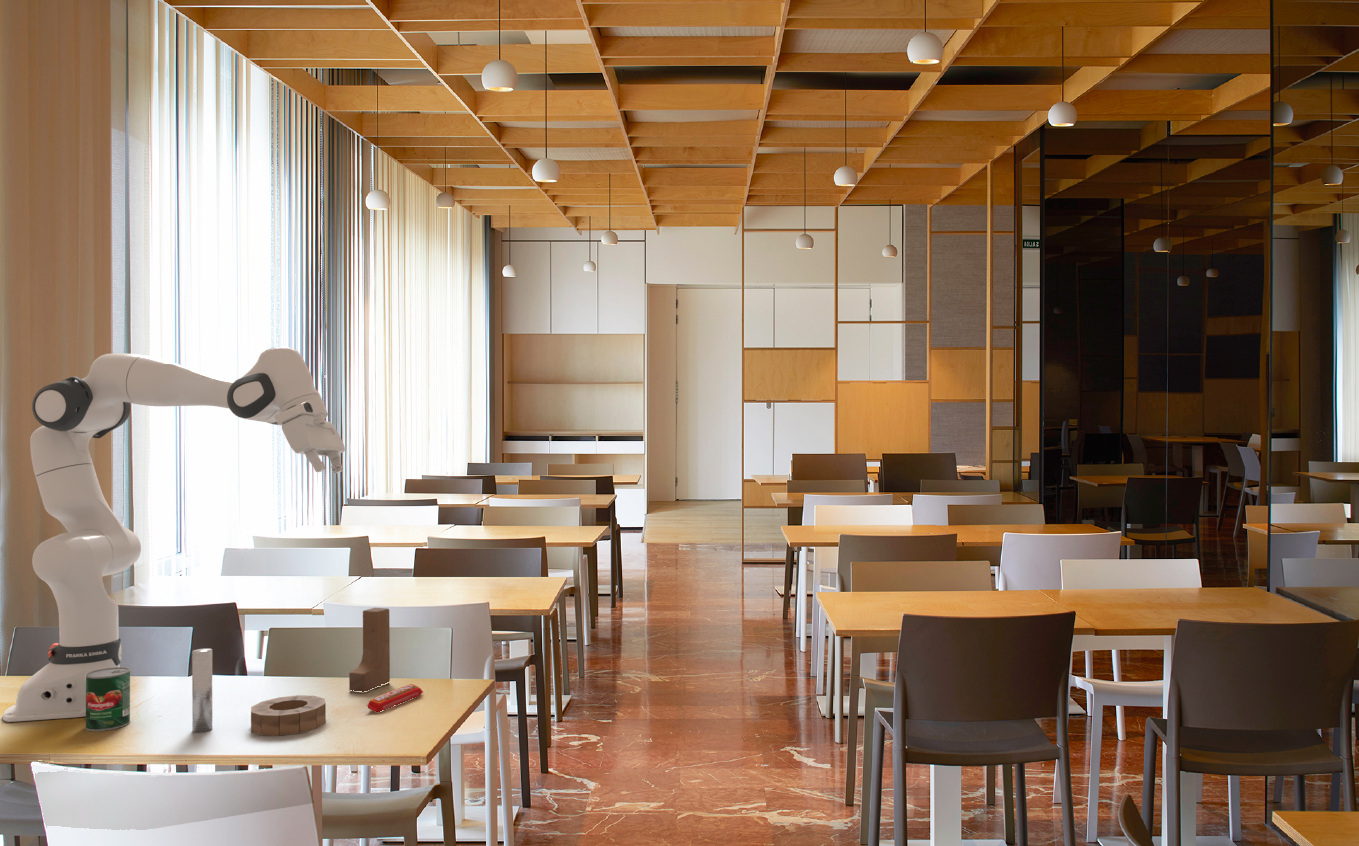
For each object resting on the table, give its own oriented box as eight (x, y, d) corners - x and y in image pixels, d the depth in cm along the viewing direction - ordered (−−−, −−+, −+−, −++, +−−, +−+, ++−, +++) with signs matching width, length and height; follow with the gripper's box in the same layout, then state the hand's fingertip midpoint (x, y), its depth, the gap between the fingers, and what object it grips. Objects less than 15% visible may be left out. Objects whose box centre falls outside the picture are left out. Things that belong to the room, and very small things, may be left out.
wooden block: (363, 693, 212) (363, 615, 212) (348, 691, 213) (348, 613, 214) (390, 683, 220) (390, 608, 220) (375, 682, 222) (375, 607, 222)
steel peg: (191, 733, 184) (191, 653, 184) (193, 728, 187) (192, 649, 187) (211, 731, 185) (211, 651, 186) (212, 726, 189) (212, 647, 189)
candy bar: (377, 716, 196) (377, 701, 196) (363, 714, 197) (363, 700, 197) (425, 696, 210) (425, 682, 210) (412, 694, 212) (412, 681, 212)
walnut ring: (250, 739, 180) (250, 719, 180) (251, 719, 193) (251, 700, 193) (327, 729, 186) (327, 709, 186) (323, 710, 198) (323, 692, 198)
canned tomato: (86, 734, 184) (86, 679, 185) (84, 724, 191) (83, 671, 191) (132, 726, 189) (132, 672, 189) (128, 717, 195) (128, 665, 196)
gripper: (312, 424, 213) (336, 478, 211) (270, 416, 192) (296, 476, 191) (337, 412, 213) (361, 466, 211) (298, 404, 192) (324, 463, 191)
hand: (330, 471), depth 201 cm, fingers open, 8 cm apart
